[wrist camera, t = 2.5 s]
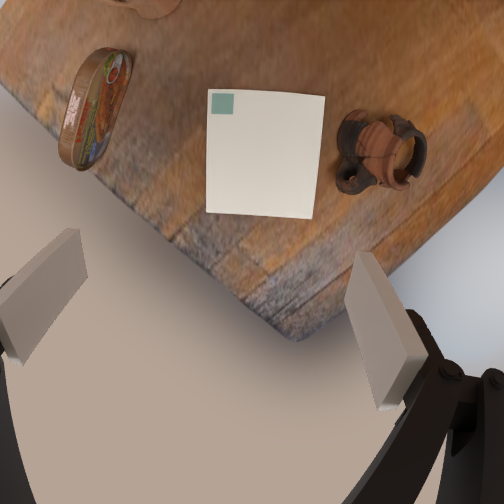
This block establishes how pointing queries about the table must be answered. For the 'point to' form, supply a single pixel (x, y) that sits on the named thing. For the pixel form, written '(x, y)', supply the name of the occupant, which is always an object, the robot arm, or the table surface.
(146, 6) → the beer glass
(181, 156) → the table surface
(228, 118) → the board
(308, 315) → the table surface
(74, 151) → the tin
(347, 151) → the broken pottery vessel
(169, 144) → the table surface
